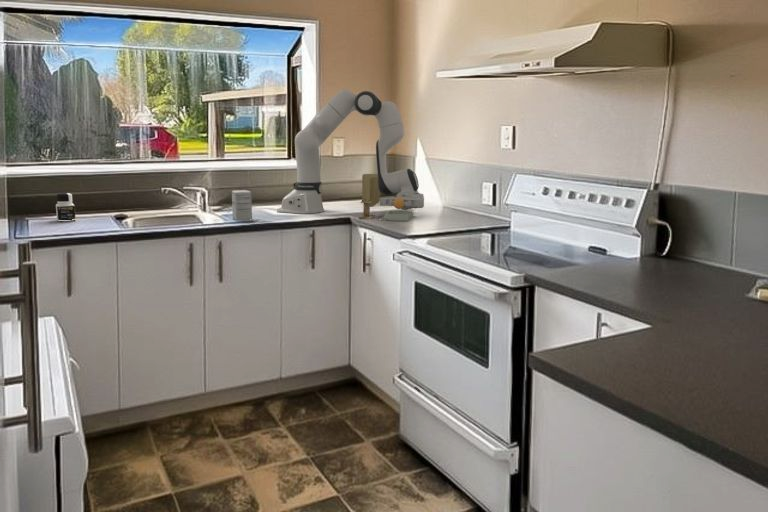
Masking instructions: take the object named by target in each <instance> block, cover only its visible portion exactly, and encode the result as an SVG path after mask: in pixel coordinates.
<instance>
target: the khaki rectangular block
mask: <svg viewBox="0 0 768 512" xmlns="http://www.w3.org/2000/svg"><path fill="white" fill-rule="evenodd" d="M361 177H362V178H361V181H362V182H361V183H362V184H361V187H362V188H361V189H362V190H361V191H362V192H361V201H362V200H363V199H366V201H367V200H369V199H372V202H371V203H370V207H371V208H372V207H374V206H375V205H376V204H377V203H380V198H381V192H380V191H379V188H378V173H363V174H362V176H361Z"/></svg>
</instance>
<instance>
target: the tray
mask: <svg viewBox="0 0 768 512" xmlns="http://www.w3.org/2000/svg"><path fill="white" fill-rule="evenodd" d="M384 216H385V218H384V221H385V220H387V222H388V221H392V222H410V220H412V219H413V211H408V210H402V211H401V210H389V211H387V212H385V213H384Z"/></svg>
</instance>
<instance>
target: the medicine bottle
mask: <svg viewBox="0 0 768 512" xmlns="http://www.w3.org/2000/svg"><path fill="white" fill-rule="evenodd" d="M56 201H57V203H56V204H55V212H56V213H55V214H56V220H57V219H58V220H72V219H76V220H77V217H76V206H75V204H74V203H73V194H72V193H70V192H60V193H57V194H56Z"/></svg>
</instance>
